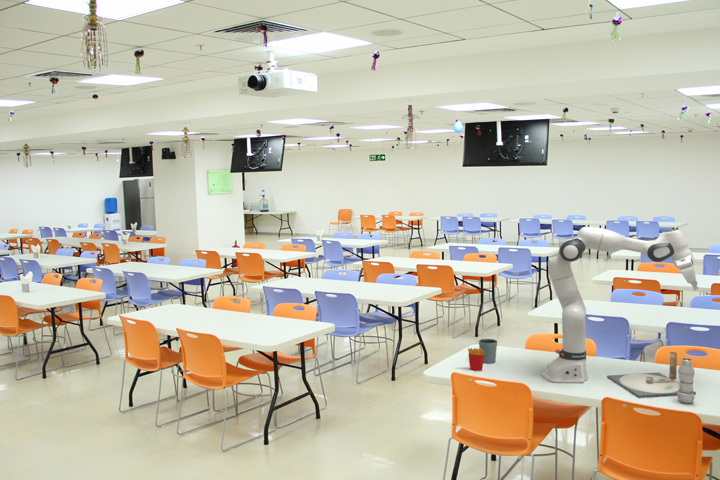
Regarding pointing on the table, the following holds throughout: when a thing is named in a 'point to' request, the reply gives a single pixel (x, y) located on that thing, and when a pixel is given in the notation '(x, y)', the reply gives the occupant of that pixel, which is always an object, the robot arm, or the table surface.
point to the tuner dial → (646, 385)
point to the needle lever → (672, 370)
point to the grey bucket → (488, 350)
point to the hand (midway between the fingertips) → (696, 287)
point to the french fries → (476, 359)
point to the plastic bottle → (686, 381)
